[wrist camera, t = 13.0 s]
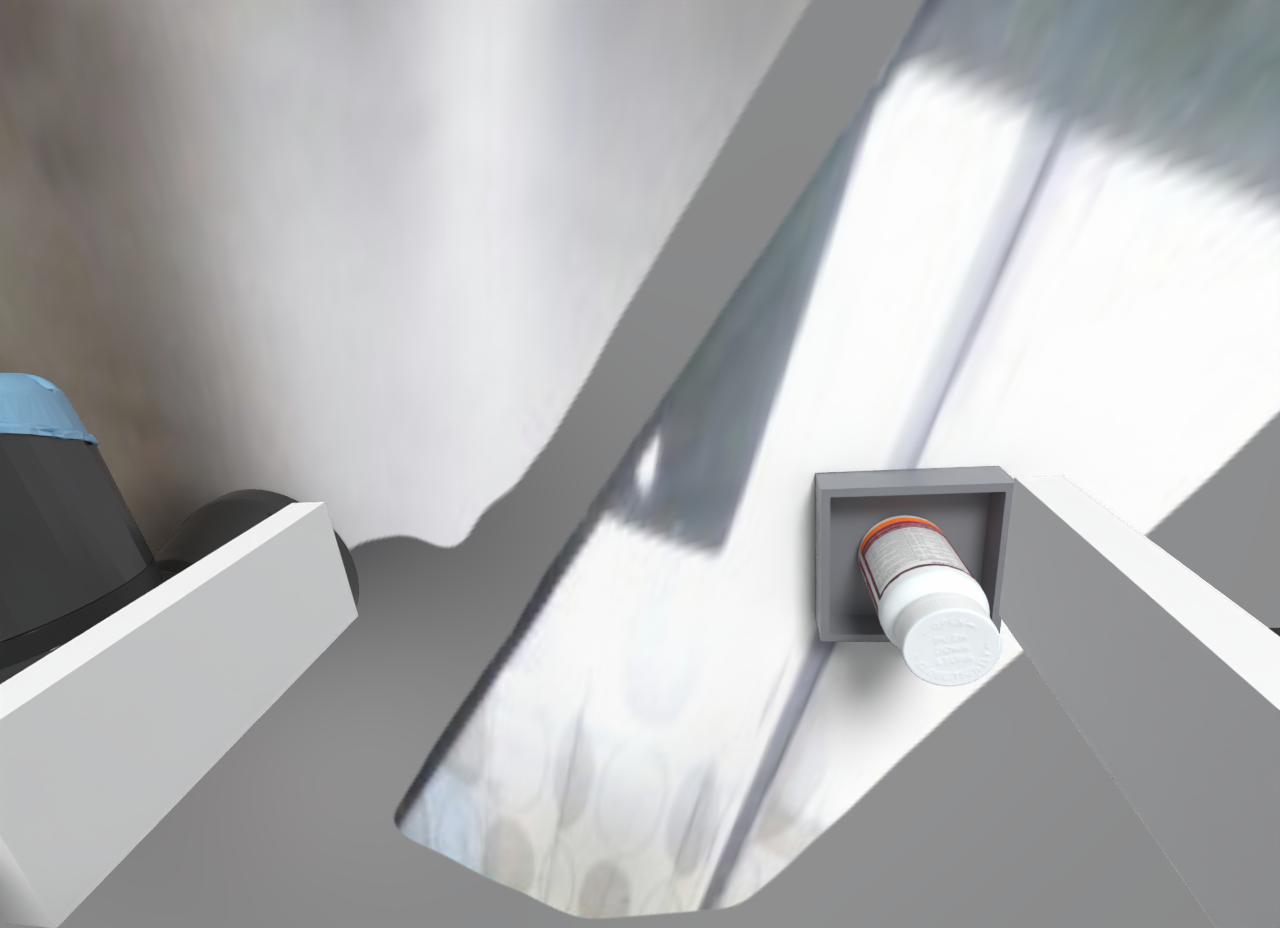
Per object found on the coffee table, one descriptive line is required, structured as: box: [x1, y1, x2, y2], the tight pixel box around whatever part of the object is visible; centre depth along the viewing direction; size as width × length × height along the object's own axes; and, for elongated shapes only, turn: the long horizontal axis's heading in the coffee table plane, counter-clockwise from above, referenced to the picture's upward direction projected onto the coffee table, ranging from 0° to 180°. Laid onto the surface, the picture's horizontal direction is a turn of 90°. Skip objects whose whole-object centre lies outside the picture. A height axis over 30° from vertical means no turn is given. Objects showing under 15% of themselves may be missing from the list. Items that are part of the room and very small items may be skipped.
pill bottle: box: [858, 515, 1001, 686], centre depth 39 cm, size 6×6×11 cm
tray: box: [816, 466, 1014, 642], centre depth 44 cm, size 12×12×3 cm
